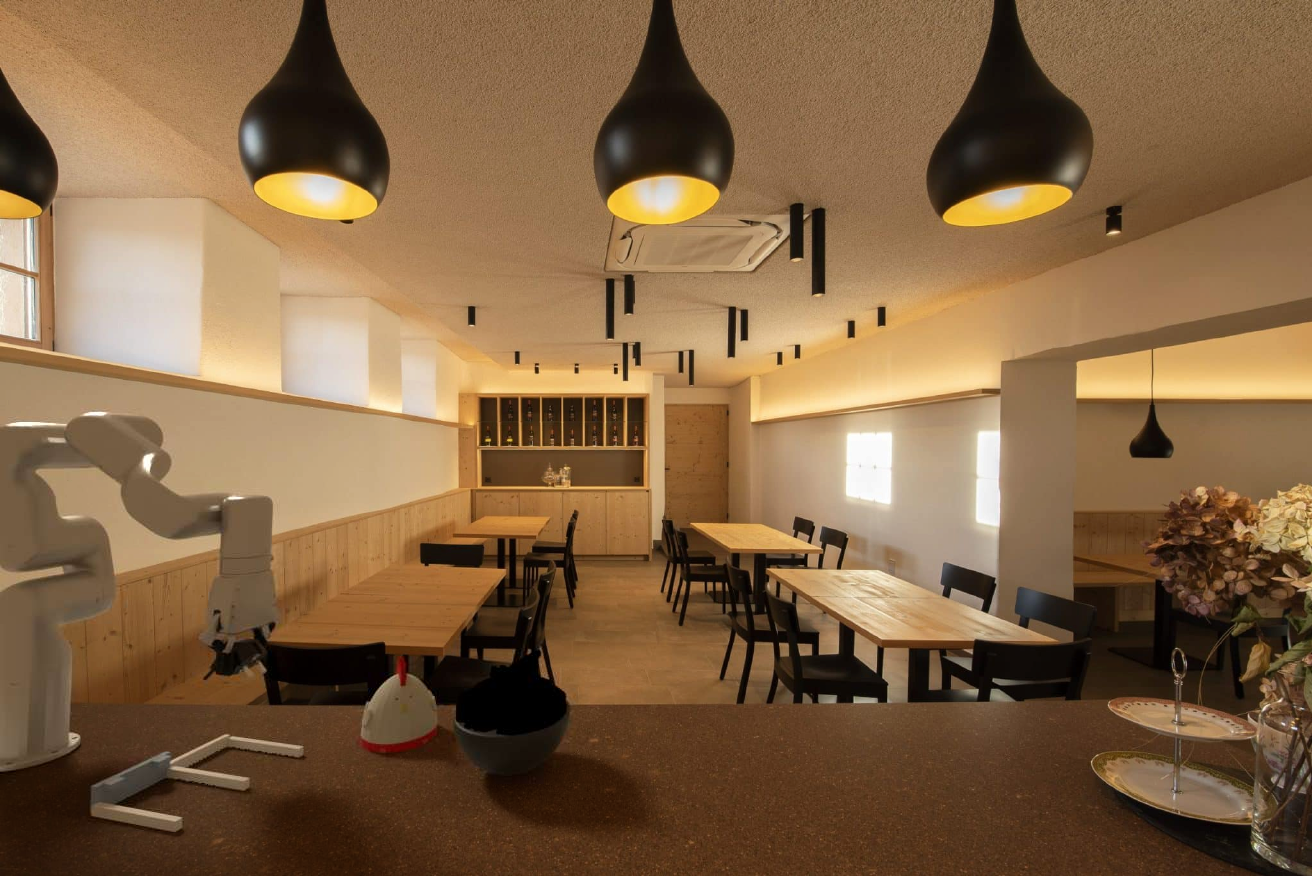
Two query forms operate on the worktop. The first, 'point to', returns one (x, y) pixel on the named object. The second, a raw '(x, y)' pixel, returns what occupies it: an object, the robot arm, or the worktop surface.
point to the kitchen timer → (399, 714)
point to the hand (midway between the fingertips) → (241, 667)
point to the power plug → (244, 657)
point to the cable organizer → (164, 767)
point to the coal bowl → (511, 719)
